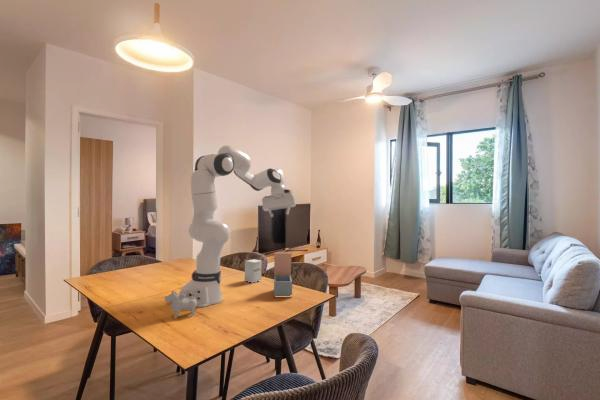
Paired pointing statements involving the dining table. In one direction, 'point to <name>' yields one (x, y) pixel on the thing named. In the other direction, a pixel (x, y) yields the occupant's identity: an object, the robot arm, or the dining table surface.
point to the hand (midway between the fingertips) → (279, 215)
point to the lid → (282, 263)
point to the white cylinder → (253, 270)
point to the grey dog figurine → (181, 303)
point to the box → (282, 285)
